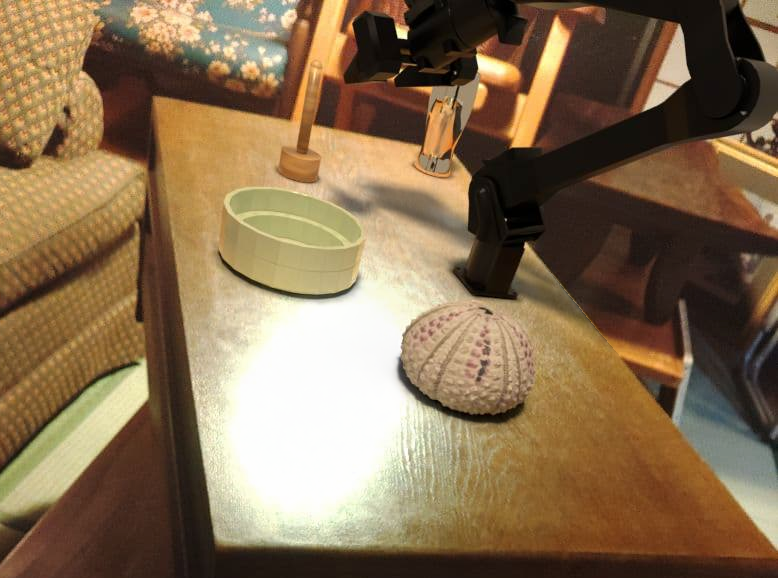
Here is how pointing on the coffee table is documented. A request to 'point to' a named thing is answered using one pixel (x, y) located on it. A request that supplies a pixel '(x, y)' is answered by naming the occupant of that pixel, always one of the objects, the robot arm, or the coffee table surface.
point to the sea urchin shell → (469, 357)
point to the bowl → (291, 240)
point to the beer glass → (445, 126)
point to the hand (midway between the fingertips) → (370, 81)
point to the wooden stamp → (304, 136)
